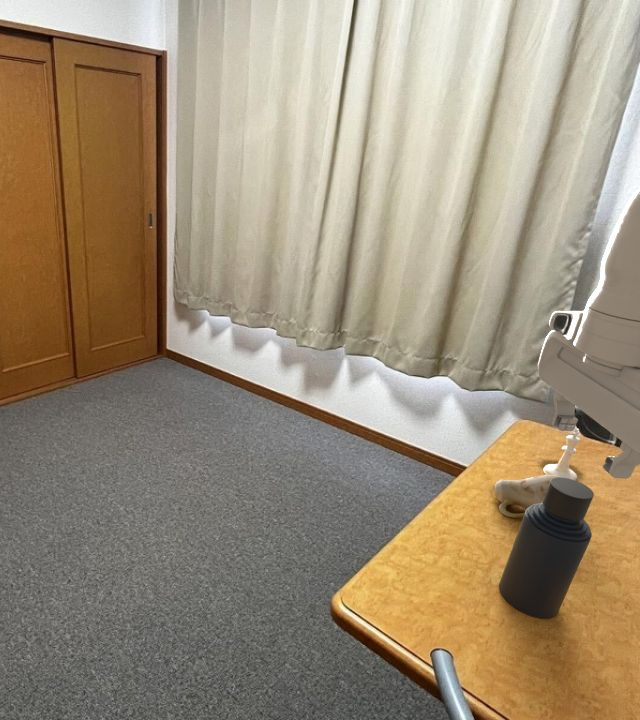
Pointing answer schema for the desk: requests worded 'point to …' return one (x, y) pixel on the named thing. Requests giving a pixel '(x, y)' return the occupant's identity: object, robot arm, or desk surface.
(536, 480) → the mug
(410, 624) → the desk surface
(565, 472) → the chess piece
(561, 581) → the flask
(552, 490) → the stopper
